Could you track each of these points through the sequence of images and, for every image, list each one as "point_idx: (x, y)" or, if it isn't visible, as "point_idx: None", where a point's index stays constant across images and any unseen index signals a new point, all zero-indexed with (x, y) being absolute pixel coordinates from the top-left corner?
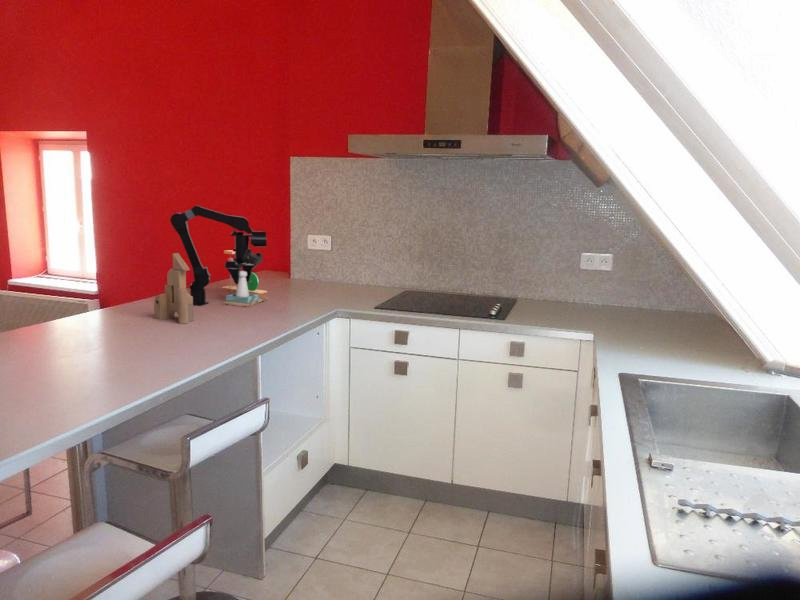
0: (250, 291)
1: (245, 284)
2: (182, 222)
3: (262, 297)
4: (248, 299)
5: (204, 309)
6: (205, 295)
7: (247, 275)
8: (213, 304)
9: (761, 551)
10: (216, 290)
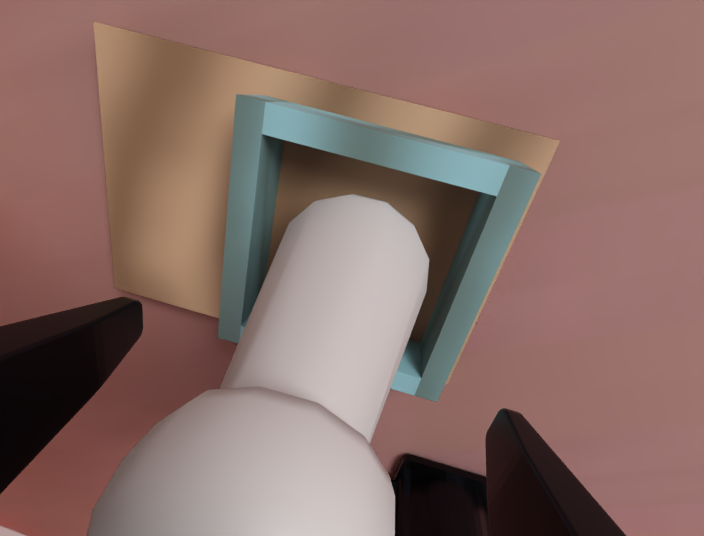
0: None
1: (358, 297)
2: None
3: (128, 88)
4: (502, 160)
5: (650, 449)
6: None
7: (44, 387)
8: (442, 423)
9: None
10: None
